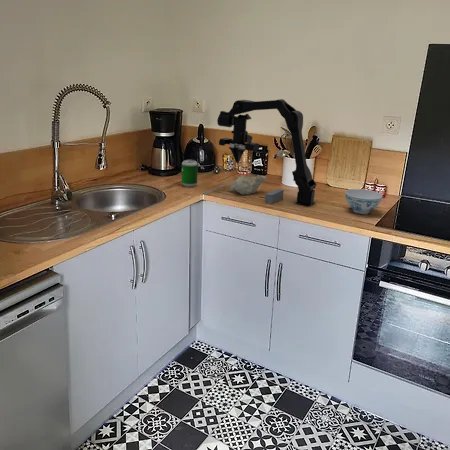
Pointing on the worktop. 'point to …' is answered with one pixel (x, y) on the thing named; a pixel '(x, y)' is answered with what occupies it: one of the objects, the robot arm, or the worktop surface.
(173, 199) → the worktop surface
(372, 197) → the chinaware
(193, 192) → the worktop surface
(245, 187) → the grey lumpy stone
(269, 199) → the bar
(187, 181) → the soda can
